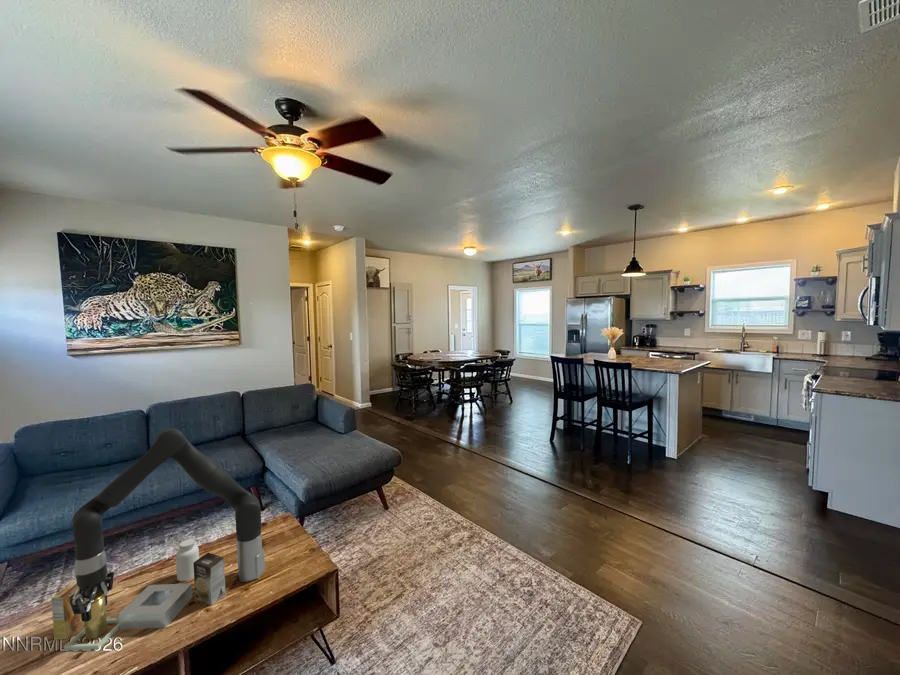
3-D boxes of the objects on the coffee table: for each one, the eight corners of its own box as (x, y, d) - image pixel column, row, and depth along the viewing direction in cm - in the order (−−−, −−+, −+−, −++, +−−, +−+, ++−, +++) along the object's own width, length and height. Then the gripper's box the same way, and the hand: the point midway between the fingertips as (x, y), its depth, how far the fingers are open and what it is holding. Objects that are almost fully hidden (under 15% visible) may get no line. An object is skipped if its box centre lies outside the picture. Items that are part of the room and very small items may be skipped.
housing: (192, 599, 144) (191, 583, 144) (166, 630, 130) (165, 612, 130) (150, 600, 144) (149, 584, 143) (119, 631, 130) (118, 614, 129)
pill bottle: (204, 570, 160) (202, 537, 159) (189, 584, 152) (187, 549, 151) (187, 569, 161) (185, 536, 160) (172, 582, 153) (169, 548, 152)
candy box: (77, 619, 135) (73, 579, 134) (89, 618, 136) (86, 578, 135) (53, 640, 126) (49, 598, 125) (67, 639, 127) (63, 597, 126)
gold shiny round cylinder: (111, 625, 130) (108, 591, 129) (97, 638, 125) (94, 603, 124) (95, 626, 130) (92, 592, 129) (81, 639, 125) (77, 604, 124)
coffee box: (194, 602, 143) (191, 562, 142) (209, 590, 149) (207, 552, 148) (211, 608, 140) (209, 567, 139) (226, 595, 146) (224, 556, 145)
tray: (126, 623, 133) (126, 618, 133) (98, 651, 122) (97, 645, 122) (95, 624, 133) (94, 619, 133) (64, 652, 122) (63, 646, 122)
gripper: (82, 581, 119) (86, 631, 120) (120, 552, 133) (124, 596, 134) (58, 582, 118) (62, 632, 120) (99, 553, 133) (102, 597, 134)
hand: (95, 613), depth 127 cm, fingers closed on gold shiny round cylinder, 5 cm apart
